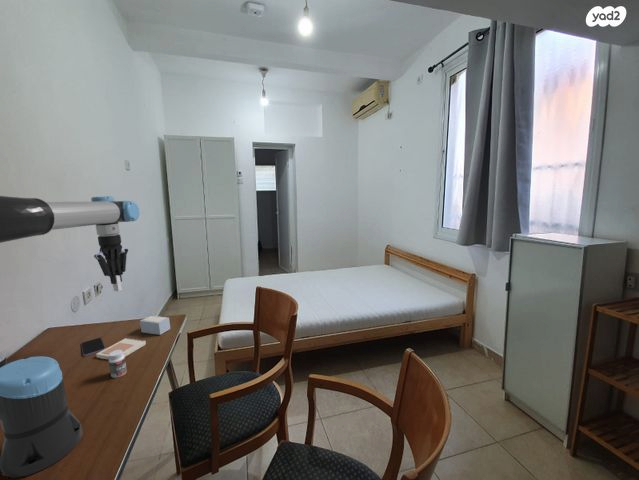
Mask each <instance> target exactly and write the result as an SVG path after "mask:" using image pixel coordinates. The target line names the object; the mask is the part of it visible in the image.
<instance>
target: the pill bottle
mask: <svg viewBox="0 0 639 480" xmlns="http://www.w3.org/2000/svg"><path fill="white" fill-rule="evenodd" d="M109 358H110V359H109V360H108V366H109V373H110V377H111V378H113V379H116V378H120V377H122V376H125V375H126V373H127V370H128V369H127V364H126V356H125V357H124V355H123V352H122V350H115V351H113V352H111V353H110V354H109Z"/></svg>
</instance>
